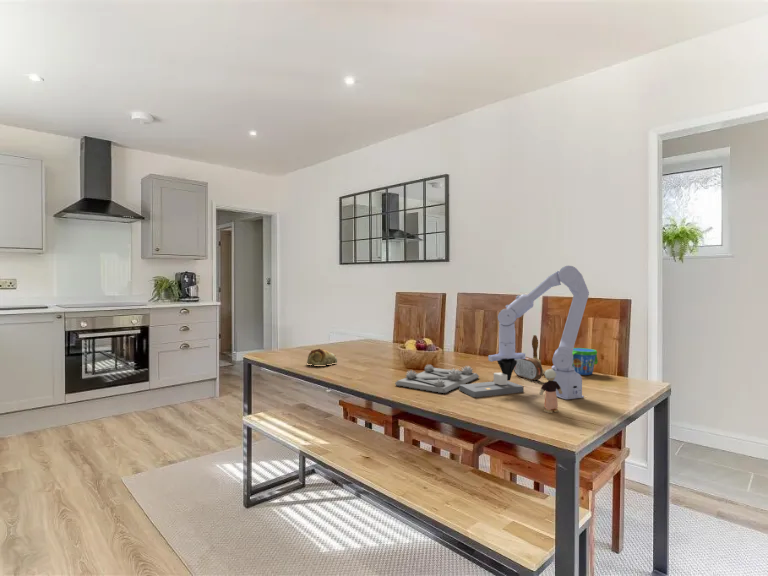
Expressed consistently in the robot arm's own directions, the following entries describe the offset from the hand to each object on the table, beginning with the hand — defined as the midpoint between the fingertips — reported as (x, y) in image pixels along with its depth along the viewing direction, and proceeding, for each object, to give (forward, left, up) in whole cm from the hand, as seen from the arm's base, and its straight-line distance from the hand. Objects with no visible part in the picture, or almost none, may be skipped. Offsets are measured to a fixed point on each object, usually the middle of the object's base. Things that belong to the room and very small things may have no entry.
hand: (506, 379), depth 153 cm
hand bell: (+19, -28, -4) cm, 34 cm away
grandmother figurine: (-26, +4, -4) cm, 27 cm away
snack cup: (+10, -45, -4) cm, 46 cm away
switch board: (0, +7, -3) cm, 8 cm away
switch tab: (0, +3, -1) cm, 3 cm away
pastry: (+70, +53, -4) cm, 87 cm away
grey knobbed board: (+19, +18, -4) cm, 26 cm away
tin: (+12, -18, -4) cm, 22 cm away
